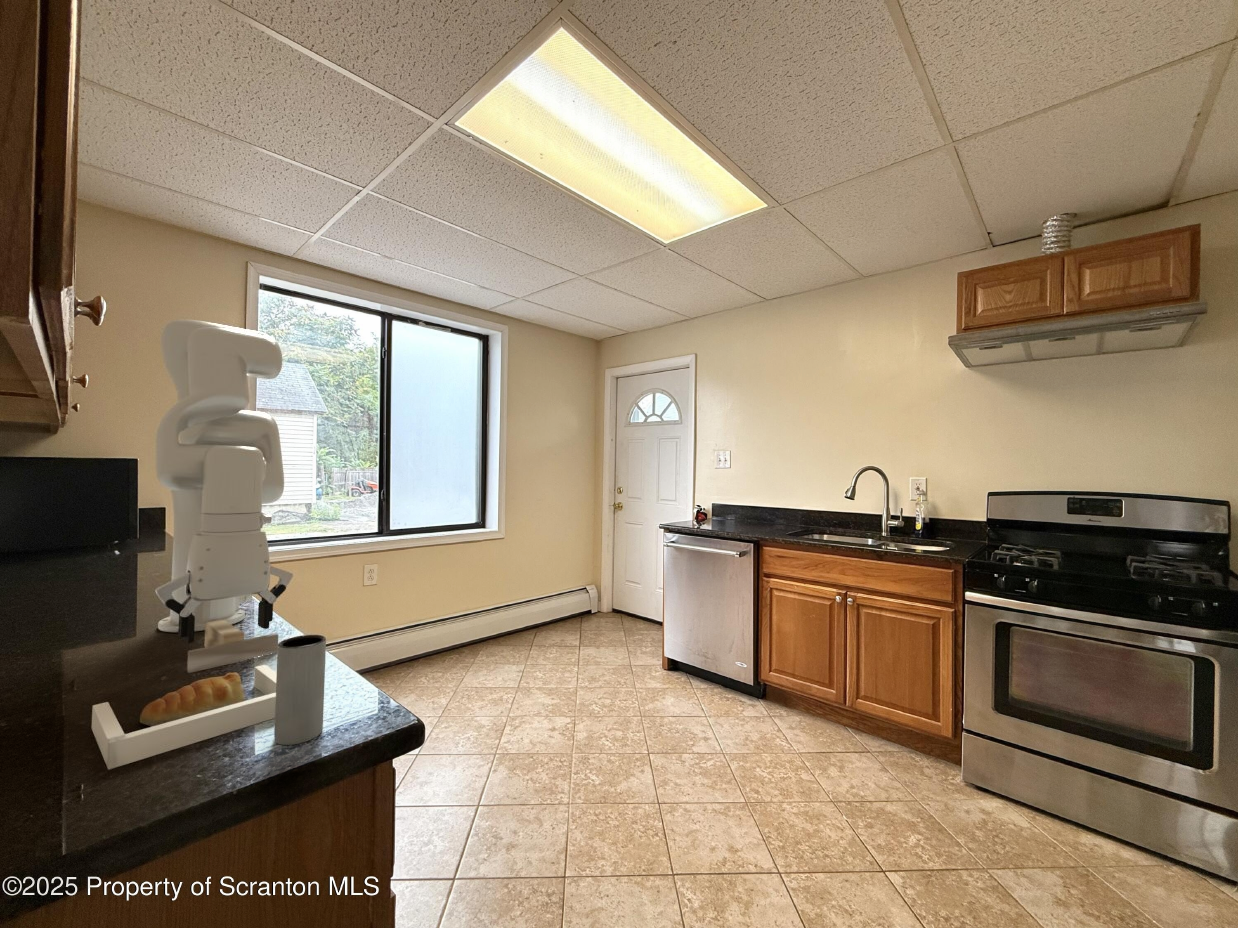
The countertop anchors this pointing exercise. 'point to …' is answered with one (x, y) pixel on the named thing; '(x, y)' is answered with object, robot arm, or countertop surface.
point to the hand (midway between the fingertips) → (227, 633)
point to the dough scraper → (228, 647)
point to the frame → (181, 725)
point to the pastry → (194, 699)
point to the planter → (299, 689)
